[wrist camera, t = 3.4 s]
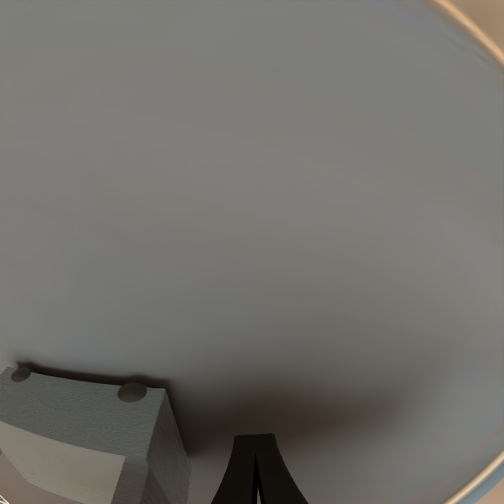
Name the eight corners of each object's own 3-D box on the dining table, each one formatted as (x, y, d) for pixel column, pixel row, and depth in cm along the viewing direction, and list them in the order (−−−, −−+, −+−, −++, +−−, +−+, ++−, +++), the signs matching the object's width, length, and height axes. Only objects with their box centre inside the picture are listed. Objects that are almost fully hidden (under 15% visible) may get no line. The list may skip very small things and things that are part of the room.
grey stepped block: (167, 374, 10) (124, 526, 4) (193, 459, 11) (181, 571, 5) (12, 356, 10) (-60, 438, 4) (56, 437, 11) (16, 517, 5)
